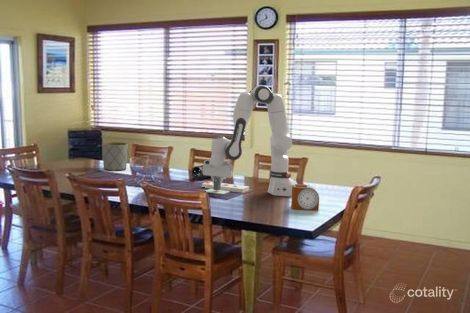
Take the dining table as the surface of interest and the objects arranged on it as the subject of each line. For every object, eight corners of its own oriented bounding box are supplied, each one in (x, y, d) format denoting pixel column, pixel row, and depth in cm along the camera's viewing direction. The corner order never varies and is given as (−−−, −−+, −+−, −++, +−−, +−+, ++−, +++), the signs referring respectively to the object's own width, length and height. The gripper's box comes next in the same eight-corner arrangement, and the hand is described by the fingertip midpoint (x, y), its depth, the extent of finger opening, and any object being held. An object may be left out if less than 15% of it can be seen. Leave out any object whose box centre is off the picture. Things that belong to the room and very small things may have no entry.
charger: (220, 189, 341) (221, 177, 340) (217, 190, 337) (218, 178, 336) (216, 188, 342) (216, 176, 341) (213, 189, 339) (213, 177, 337)
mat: (229, 192, 341) (229, 191, 341) (223, 194, 333) (223, 193, 333) (210, 189, 347) (210, 188, 347) (203, 191, 339) (203, 191, 339)
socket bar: (249, 190, 349) (249, 185, 349) (242, 192, 340) (242, 188, 340) (208, 185, 362) (208, 180, 361) (201, 187, 353) (201, 182, 352)
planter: (132, 169, 410) (132, 144, 407) (112, 172, 396) (112, 145, 393) (117, 166, 423) (117, 141, 420) (97, 168, 408) (97, 143, 405)
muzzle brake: (190, 179, 380) (191, 165, 379) (215, 174, 403) (215, 161, 401) (201, 181, 375) (201, 166, 373) (225, 176, 397) (225, 162, 396)
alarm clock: (292, 209, 300) (293, 186, 298) (290, 206, 308) (292, 183, 306) (318, 210, 300) (320, 187, 298) (316, 207, 308) (317, 184, 307)
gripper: (234, 162, 336) (234, 184, 338) (206, 159, 344) (205, 180, 346) (230, 164, 330) (229, 186, 332) (201, 161, 339) (201, 182, 341)
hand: (217, 183), depth 339 cm, fingers closed on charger, 3 cm apart
